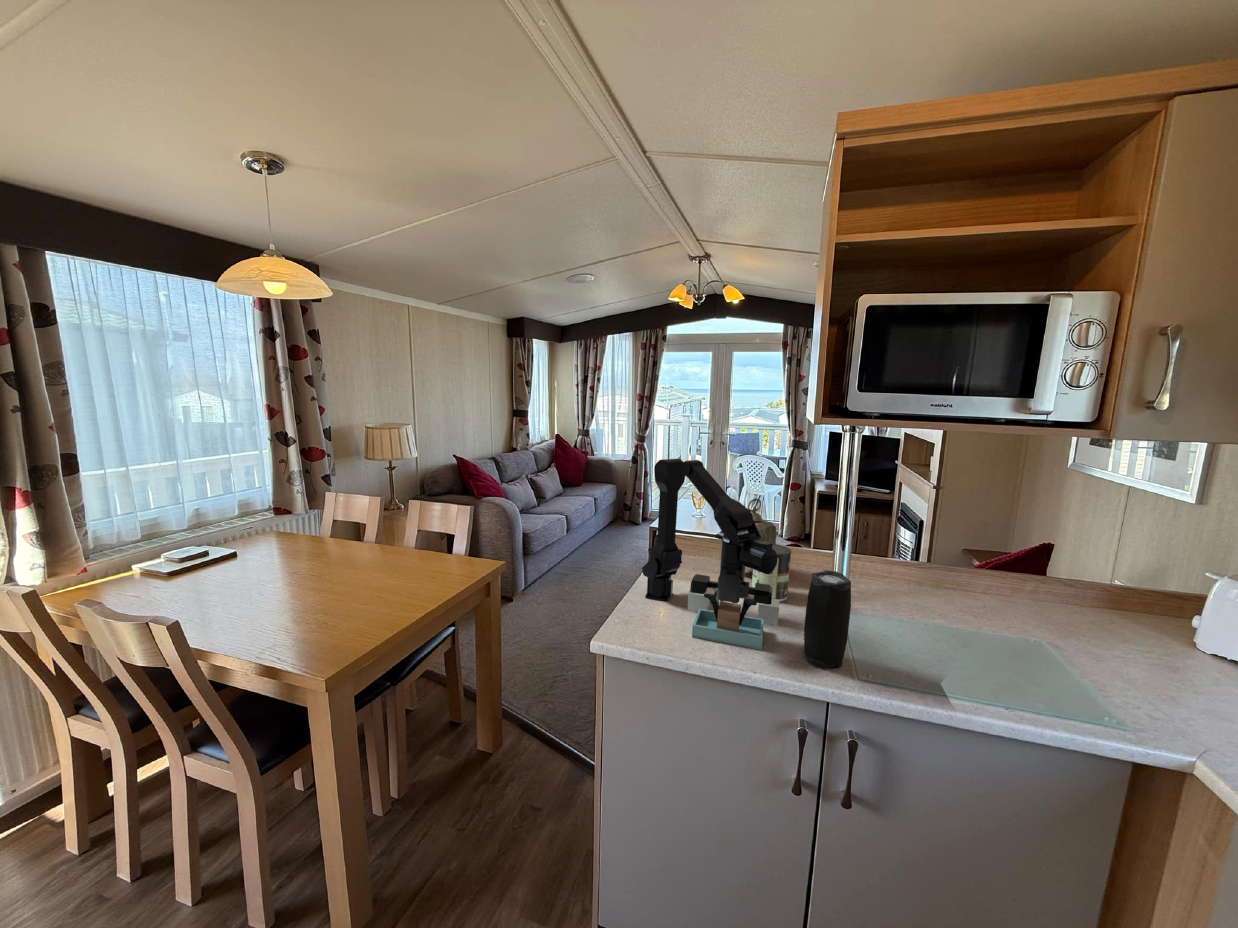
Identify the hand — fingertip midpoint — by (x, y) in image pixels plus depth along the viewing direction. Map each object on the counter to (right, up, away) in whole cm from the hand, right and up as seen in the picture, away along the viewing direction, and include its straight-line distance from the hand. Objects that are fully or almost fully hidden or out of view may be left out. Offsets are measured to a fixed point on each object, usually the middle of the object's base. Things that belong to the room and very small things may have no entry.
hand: (728, 622), depth 117 cm
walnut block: (0, -1, 0) cm, 1 cm away
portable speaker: (+18, -5, -10) cm, 22 cm away
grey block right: (+12, -2, +9) cm, 15 cm away
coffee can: (+17, 0, +25) cm, 30 cm away
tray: (0, -3, 0) cm, 3 cm away
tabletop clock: (+16, +2, +41) cm, 44 cm away
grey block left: (-5, -1, +14) cm, 15 cm away
